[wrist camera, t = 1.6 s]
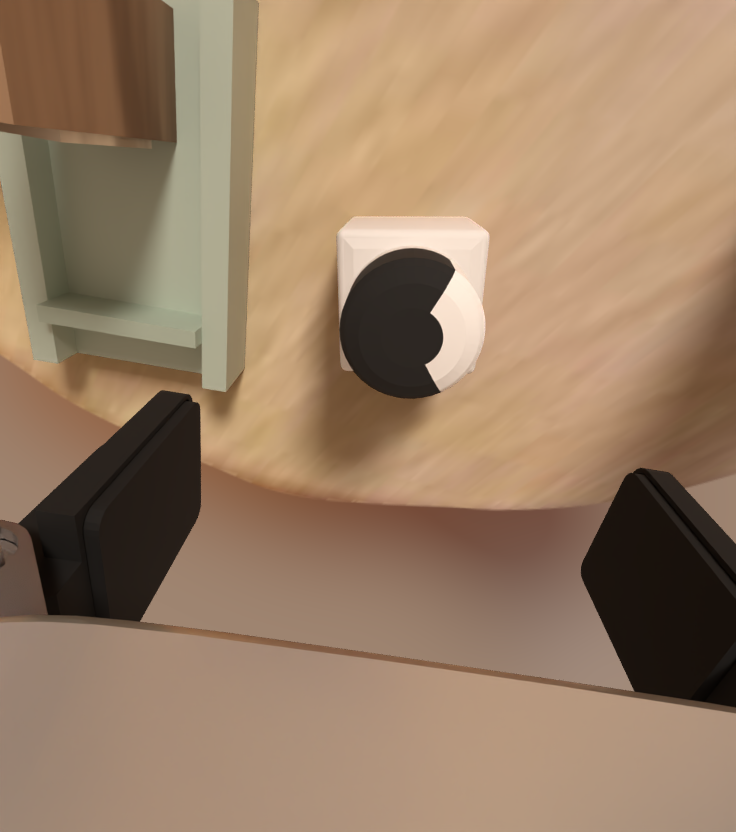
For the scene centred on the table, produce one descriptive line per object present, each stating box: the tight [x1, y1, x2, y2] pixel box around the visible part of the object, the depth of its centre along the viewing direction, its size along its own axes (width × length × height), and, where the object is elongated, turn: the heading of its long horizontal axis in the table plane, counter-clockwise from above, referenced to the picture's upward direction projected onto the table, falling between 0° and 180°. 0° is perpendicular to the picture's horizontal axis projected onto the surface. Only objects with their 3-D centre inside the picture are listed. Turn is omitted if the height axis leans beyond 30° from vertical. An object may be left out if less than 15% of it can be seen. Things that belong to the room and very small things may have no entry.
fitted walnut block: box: [0, 0, 177, 149], centre depth 19 cm, size 5×6×12 cm
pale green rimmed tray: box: [0, 0, 259, 392], centre depth 26 cm, size 12×20×5 cm, turn 171°
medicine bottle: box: [336, 216, 489, 399], centre depth 24 cm, size 7×7×12 cm
